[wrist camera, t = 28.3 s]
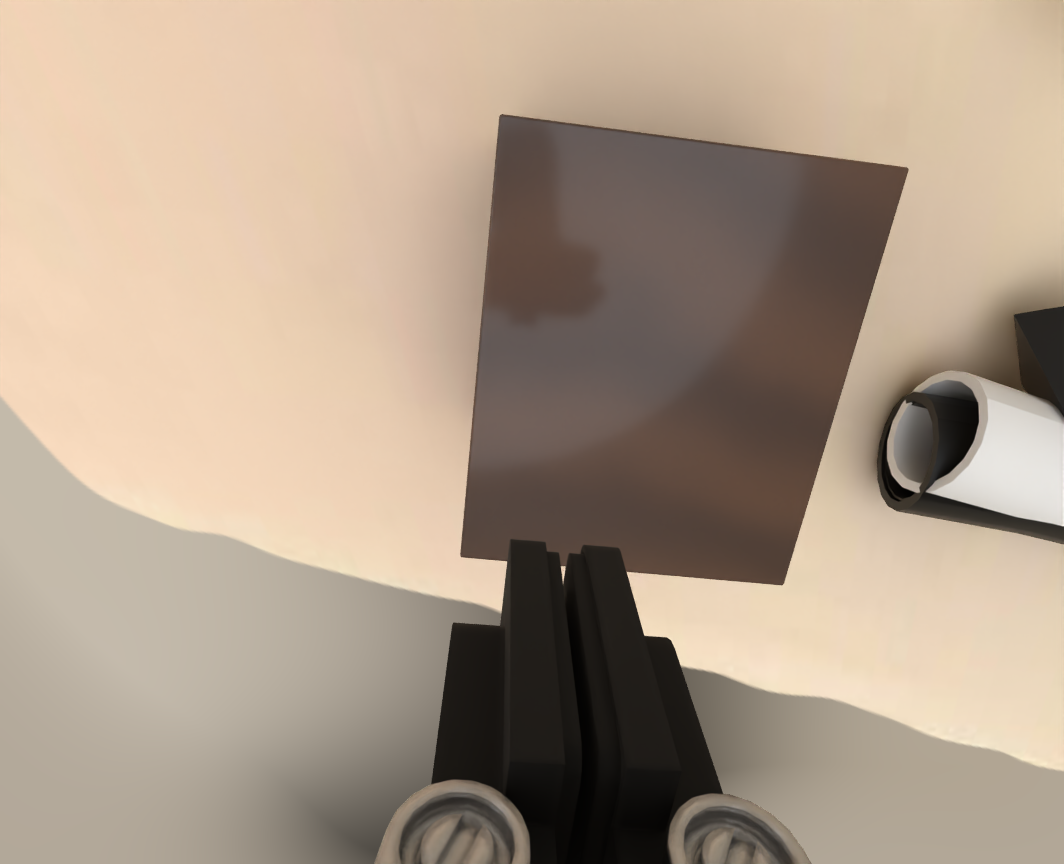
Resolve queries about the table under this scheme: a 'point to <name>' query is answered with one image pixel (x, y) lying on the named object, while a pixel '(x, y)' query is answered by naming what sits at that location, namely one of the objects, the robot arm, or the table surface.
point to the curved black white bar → (985, 442)
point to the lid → (664, 344)
